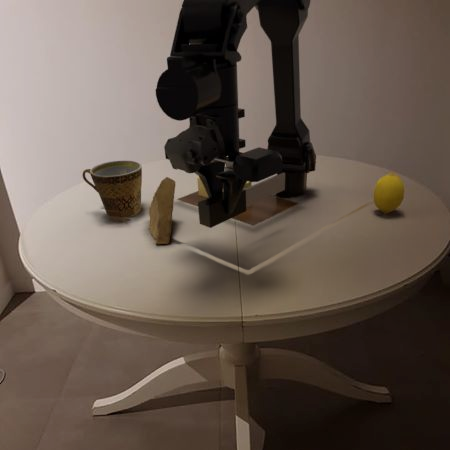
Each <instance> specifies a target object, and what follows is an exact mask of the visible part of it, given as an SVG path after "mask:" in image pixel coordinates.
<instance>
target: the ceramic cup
mask: <svg viewBox="0 0 450 450" xmlns="http://www.w3.org/2000/svg"><path fill="white" fill-rule="evenodd" d="M142 169H143V167H142V164H141V163H140V162H138V161H134V160H113V161H107V162H102V163H100V164H97V165H95V166H93V167H92V168H86V169H84V170H83V171H82V178H83V181H85V183H86V184H87V185H89V186H90V187H92V188H93V190H95V191H96V192H97V193H98V195H99V197H100V200H101V203H102V205H103V207H104V210H105V213H106V216H107V218H108V220H110V222H114V223H115V222H117V223H126V222H129V221H131V219H129V218H131V217H134V216H136V215H138V214H139V212H141V211H142V184H143V170H142ZM86 173H88V174H89V175H90V177H91V180H92V182H90V181H89V180H88V179H87V177H86Z"/></svg>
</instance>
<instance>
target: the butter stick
mask: <svg viewBox="0 0 450 450" xmlns="http://www.w3.org/2000/svg"><path fill="white" fill-rule="evenodd" d="M196 180H197V191H198V192H199V195H200V196H203V197H207V198H209V197H208V195H207V192H206V189H205V187H204V185H203V183H202V181H201V179H200V177H199V176H197V179H196Z"/></svg>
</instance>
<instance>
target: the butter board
mask: <svg viewBox="0 0 450 450" xmlns="http://www.w3.org/2000/svg"><path fill="white" fill-rule="evenodd" d="M205 199H207V197H203V196H200V195H199V192H198V190H197V191H195V192H192V193H189V194H187V195H184V196H181V197H178V198H177V199H176V200H178V201H180V202H183V203H186V204H189V205H192V206H195V207H198V202H200V201H202V200H205ZM297 205H299V202H295V201H293V200H290V199H284V198H281V197H277V196H276V195H275V196H274V195H272V196H270V197H268V198H266V199H264V200H262V201H260V202H257V203H255V204H253V205H251V206H249V207H247V208H246V212H243V213H241V214H239V215H237V216H235V217H233V218H231V219H232V220H235V221H239V222H241V223H244V224H247V225H250V226H252V227H255V226H256V225H258V224H261V223H262V222H265V221H266V220H269V219H270V218H272V217H275V216H277V215H279V214H281V213H282V212H285V211H287V210H289V209H291V208H293V207H295V206H297Z"/></svg>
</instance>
